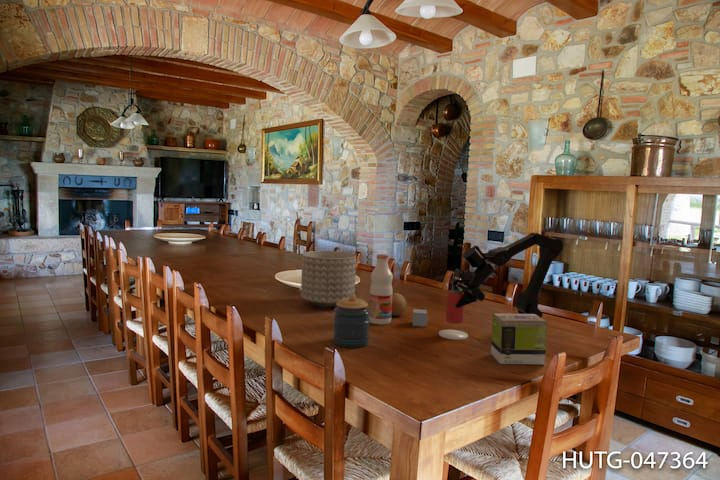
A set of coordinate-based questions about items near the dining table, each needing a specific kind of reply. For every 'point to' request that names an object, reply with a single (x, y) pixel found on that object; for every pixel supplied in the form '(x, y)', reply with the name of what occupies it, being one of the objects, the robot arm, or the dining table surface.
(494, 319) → the tea box
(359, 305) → the canister
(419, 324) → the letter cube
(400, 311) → the onion
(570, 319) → the dining table surface
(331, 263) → the planter
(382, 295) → the fruit juice
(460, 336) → the coaster
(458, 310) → the beer can
